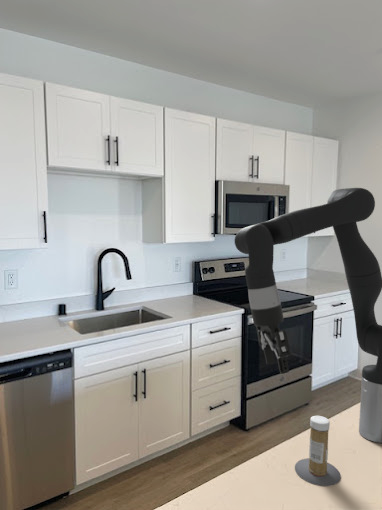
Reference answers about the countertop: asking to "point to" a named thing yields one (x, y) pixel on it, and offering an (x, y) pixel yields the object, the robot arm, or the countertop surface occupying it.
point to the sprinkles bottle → (318, 445)
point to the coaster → (326, 480)
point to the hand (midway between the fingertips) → (277, 367)
